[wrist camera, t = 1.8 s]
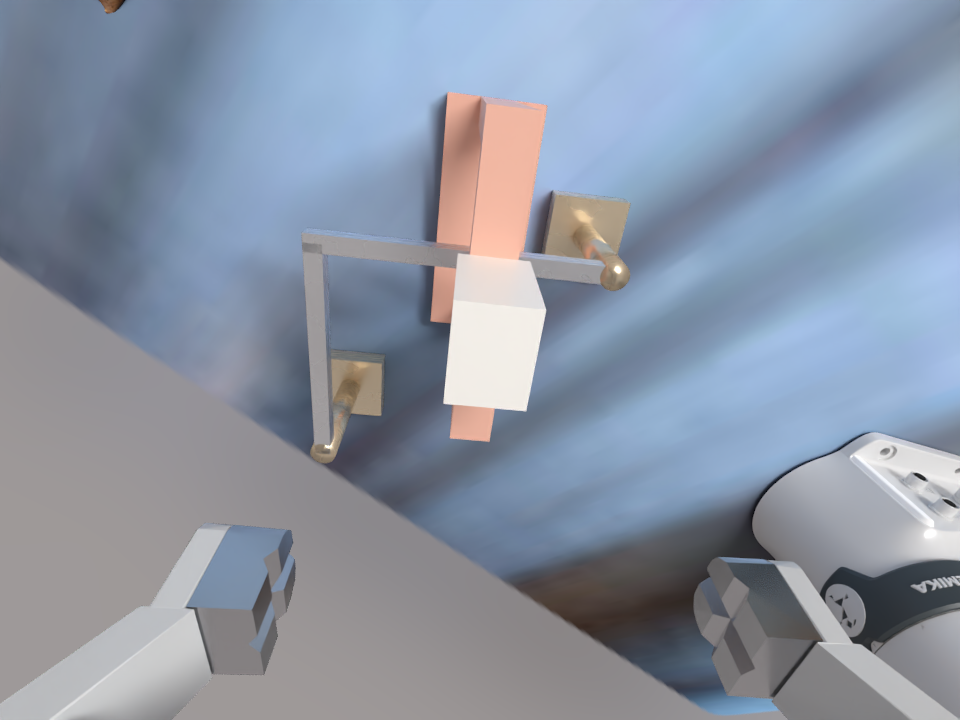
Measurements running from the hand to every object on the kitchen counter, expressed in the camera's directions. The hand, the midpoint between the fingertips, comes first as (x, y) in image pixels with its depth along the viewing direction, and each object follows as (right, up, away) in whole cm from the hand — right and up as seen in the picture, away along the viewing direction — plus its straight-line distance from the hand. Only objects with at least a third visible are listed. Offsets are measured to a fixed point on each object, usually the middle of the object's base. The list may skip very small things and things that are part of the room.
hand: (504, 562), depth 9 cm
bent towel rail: (-2, +8, +28) cm, 29 cm away
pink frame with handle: (0, +14, +25) cm, 28 cm away
